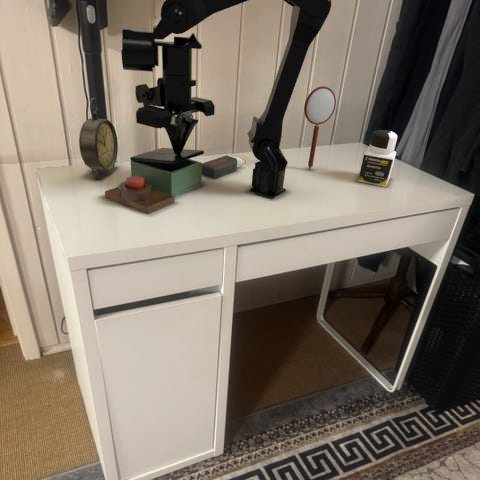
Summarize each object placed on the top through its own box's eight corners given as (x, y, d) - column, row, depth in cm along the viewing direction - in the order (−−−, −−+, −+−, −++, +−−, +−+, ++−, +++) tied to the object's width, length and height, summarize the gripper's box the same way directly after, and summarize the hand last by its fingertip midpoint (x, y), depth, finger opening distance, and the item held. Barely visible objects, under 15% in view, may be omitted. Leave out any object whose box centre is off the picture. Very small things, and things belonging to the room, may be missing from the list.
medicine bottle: (357, 181, 117) (368, 132, 110) (362, 173, 123) (373, 126, 116) (385, 187, 116) (399, 137, 109) (389, 179, 121) (402, 131, 114)
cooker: (201, 185, 107) (202, 162, 104) (171, 198, 99) (171, 173, 96) (163, 173, 112) (162, 150, 109) (131, 184, 104) (130, 160, 101)
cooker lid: (204, 153, 102) (203, 150, 102) (173, 164, 95) (172, 160, 95) (162, 150, 108) (162, 147, 108) (130, 160, 101) (130, 157, 101)
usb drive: (197, 173, 113) (197, 162, 112) (227, 163, 121) (227, 152, 120) (214, 179, 111) (214, 167, 109) (243, 168, 119) (244, 157, 118)
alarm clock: (101, 182, 104) (93, 104, 94) (78, 178, 105) (68, 100, 95) (121, 167, 113) (115, 94, 103) (100, 164, 113) (92, 92, 104)
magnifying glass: (321, 167, 124) (336, 85, 113) (325, 169, 123) (340, 87, 112) (293, 169, 121) (305, 85, 110) (296, 171, 120) (309, 87, 108)
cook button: (148, 187, 95) (148, 179, 94) (136, 192, 93) (135, 183, 92) (135, 183, 97) (135, 174, 96) (122, 187, 94) (122, 179, 93)
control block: (174, 203, 97) (174, 186, 95) (147, 214, 92) (146, 197, 90) (132, 188, 102) (131, 172, 100) (104, 198, 97) (102, 182, 94)
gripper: (175, 64, 101) (176, 138, 110) (112, 71, 88) (118, 154, 97) (217, 71, 96) (214, 148, 105) (157, 80, 83) (159, 167, 92)
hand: (177, 154), depth 100 cm, fingers closed, pressing on cooker lid
